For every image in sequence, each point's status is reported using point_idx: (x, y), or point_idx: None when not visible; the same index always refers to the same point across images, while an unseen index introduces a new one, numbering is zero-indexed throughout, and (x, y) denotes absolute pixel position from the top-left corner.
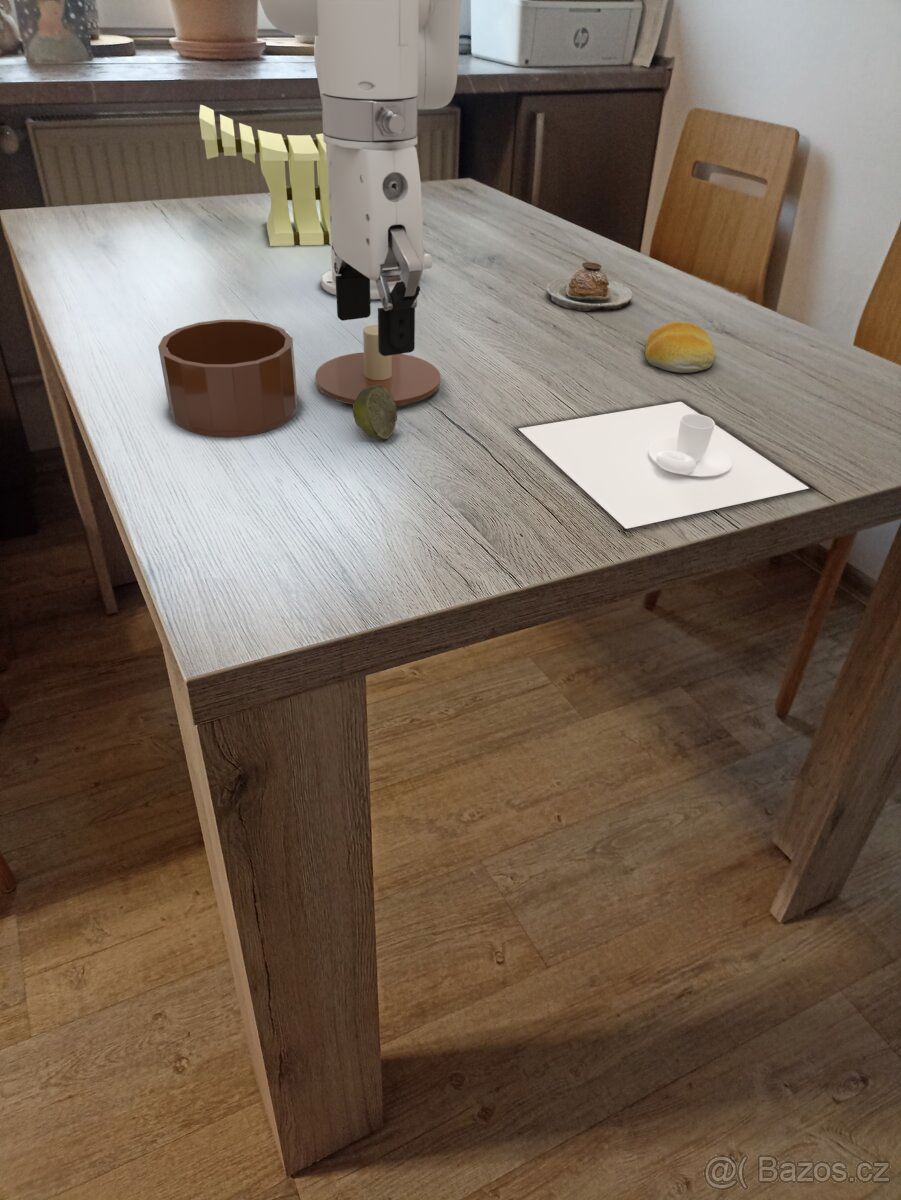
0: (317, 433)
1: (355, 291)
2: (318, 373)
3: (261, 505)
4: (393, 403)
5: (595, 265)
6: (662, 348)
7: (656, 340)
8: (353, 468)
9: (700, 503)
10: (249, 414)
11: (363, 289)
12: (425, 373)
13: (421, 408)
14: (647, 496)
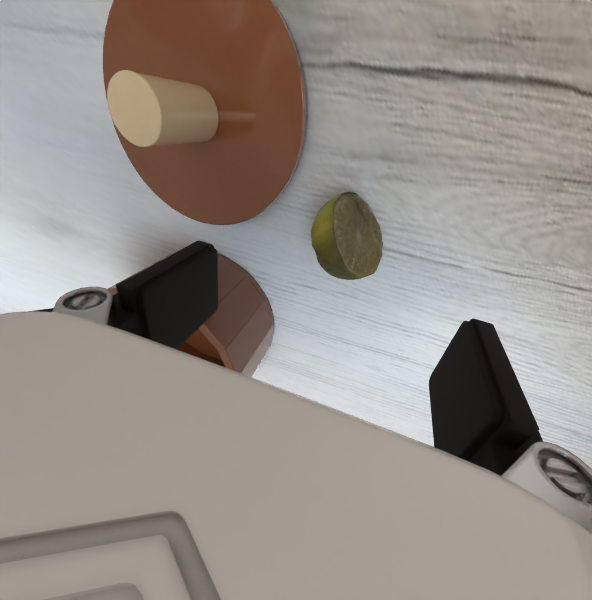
0: (305, 282)
1: (177, 312)
2: (168, 201)
3: (404, 401)
4: (343, 199)
5: None
6: None
7: None
8: (410, 305)
9: None
10: (264, 347)
11: (171, 292)
12: (218, 1)
13: (318, 96)
14: None
